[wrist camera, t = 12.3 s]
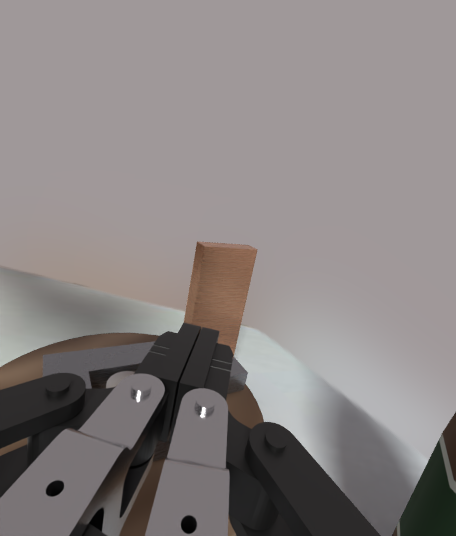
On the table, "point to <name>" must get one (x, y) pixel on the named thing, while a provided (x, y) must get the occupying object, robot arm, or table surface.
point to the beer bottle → (434, 493)
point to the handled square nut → (197, 313)
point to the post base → (151, 482)
